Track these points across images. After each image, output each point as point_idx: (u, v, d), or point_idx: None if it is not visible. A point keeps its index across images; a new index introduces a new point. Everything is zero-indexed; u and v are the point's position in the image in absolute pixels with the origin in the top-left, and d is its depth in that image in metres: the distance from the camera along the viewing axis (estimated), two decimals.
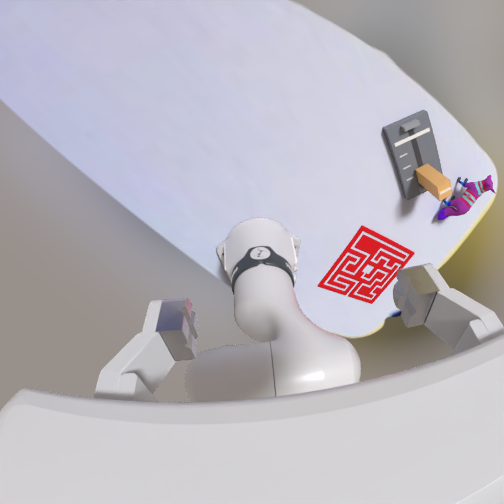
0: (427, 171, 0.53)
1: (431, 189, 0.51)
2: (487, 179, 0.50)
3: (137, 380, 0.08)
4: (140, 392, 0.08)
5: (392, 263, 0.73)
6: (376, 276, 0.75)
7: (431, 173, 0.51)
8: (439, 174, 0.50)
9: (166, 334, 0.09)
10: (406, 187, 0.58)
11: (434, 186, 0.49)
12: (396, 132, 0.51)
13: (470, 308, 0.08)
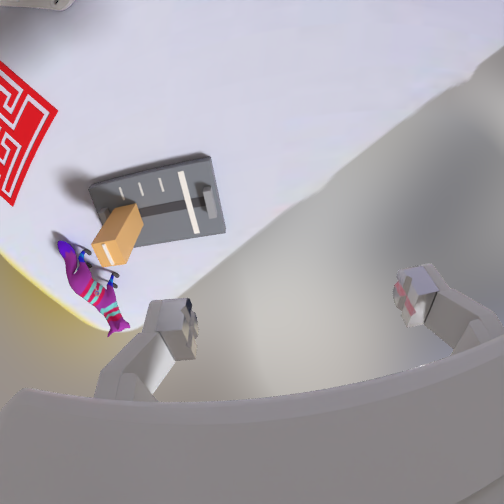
0: (134, 223, 0.37)
1: (107, 229, 0.33)
2: (124, 323, 0.44)
3: (137, 380, 0.08)
4: (140, 392, 0.08)
5: None
6: None
7: (132, 230, 0.36)
8: (131, 244, 0.35)
9: (166, 334, 0.09)
10: (108, 186, 0.37)
11: (114, 234, 0.32)
12: (201, 177, 0.37)
13: (470, 308, 0.08)
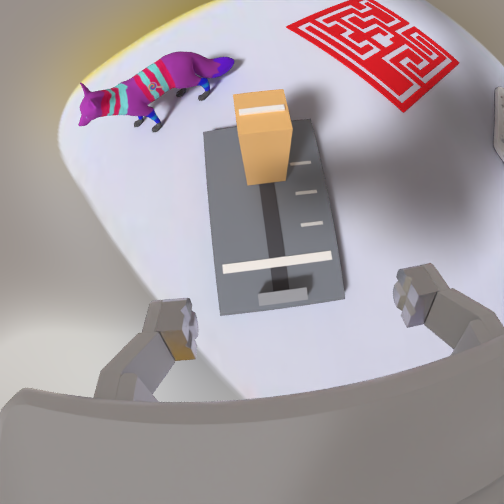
0: (267, 170, 0.24)
1: None
2: (91, 116, 0.22)
3: (137, 380, 0.08)
4: (140, 392, 0.08)
5: (335, 27, 0.32)
6: (365, 23, 0.32)
7: (264, 164, 0.23)
8: (249, 156, 0.21)
9: (166, 334, 0.09)
10: (312, 146, 0.27)
11: None
12: (320, 284, 0.25)
13: (470, 307, 0.08)
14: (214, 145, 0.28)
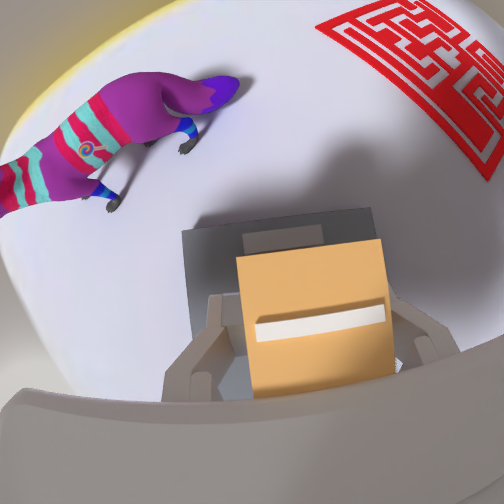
0: None
1: None
2: None
3: (211, 378, 0.07)
4: (214, 391, 0.07)
5: (385, 33, 0.20)
6: (422, 30, 0.20)
7: None
8: None
9: (233, 329, 0.09)
10: None
11: None
12: None
13: (418, 322, 0.08)
14: (201, 260, 0.16)
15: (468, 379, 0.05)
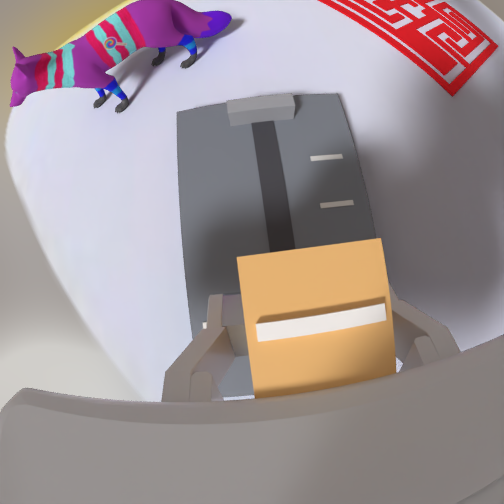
0: None
1: None
2: (22, 90, 0.12)
3: (212, 379, 0.07)
4: (214, 391, 0.07)
5: None
6: None
7: None
8: None
9: (233, 329, 0.09)
10: (343, 132, 0.17)
11: None
12: None
13: (418, 322, 0.08)
14: (192, 130, 0.18)
15: (468, 379, 0.05)
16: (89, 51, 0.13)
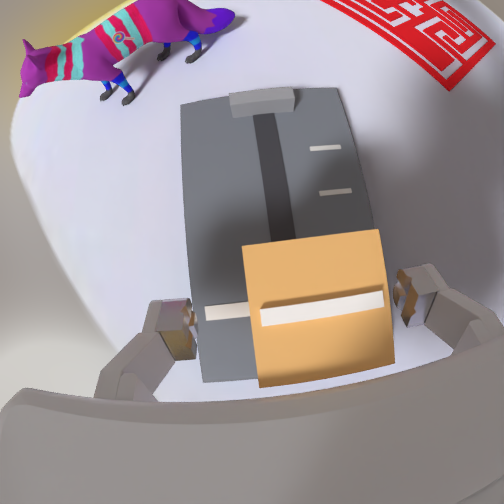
0: None
1: None
2: (32, 81, 0.12)
3: (137, 380, 0.08)
4: (140, 392, 0.08)
5: None
6: None
7: None
8: None
9: (166, 334, 0.09)
10: (341, 124, 0.18)
11: None
12: None
13: (470, 307, 0.08)
14: (195, 122, 0.18)
15: (468, 379, 0.05)
16: (98, 45, 0.14)
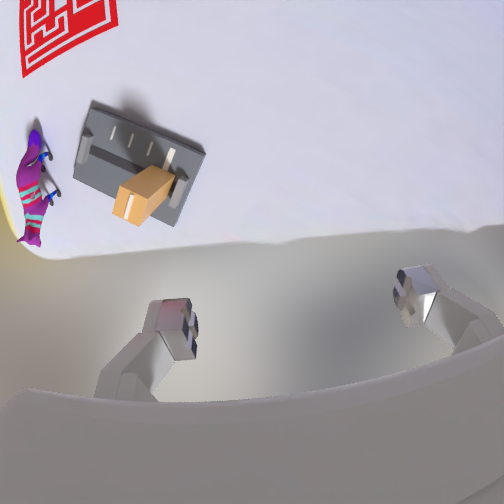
0: (163, 192, 0.35)
1: (141, 182, 0.31)
2: (37, 239, 0.36)
3: (137, 380, 0.08)
4: (140, 392, 0.08)
5: (36, 38, 0.27)
6: (42, 8, 0.24)
7: (159, 198, 0.34)
8: (151, 211, 0.33)
9: (166, 334, 0.09)
10: (106, 118, 0.33)
11: (148, 193, 0.29)
12: (186, 165, 0.36)
13: (470, 308, 0.08)
14: (82, 175, 0.37)
15: (468, 379, 0.05)
16: (33, 207, 0.35)
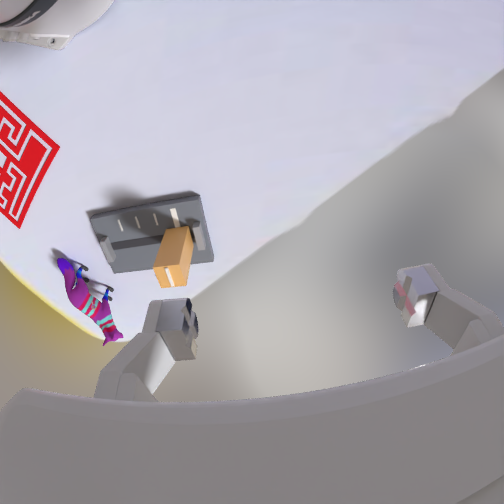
0: (188, 245, 0.41)
1: (166, 252, 0.38)
2: (118, 333, 0.48)
3: (137, 380, 0.08)
4: (140, 392, 0.08)
5: (6, 196, 0.38)
6: None
7: (187, 252, 0.40)
8: (188, 266, 0.40)
9: (166, 334, 0.09)
10: (108, 218, 0.41)
11: (176, 258, 0.36)
12: (191, 214, 0.42)
13: (470, 308, 0.08)
14: (120, 267, 0.47)
15: (468, 379, 0.05)
16: (98, 313, 0.46)
